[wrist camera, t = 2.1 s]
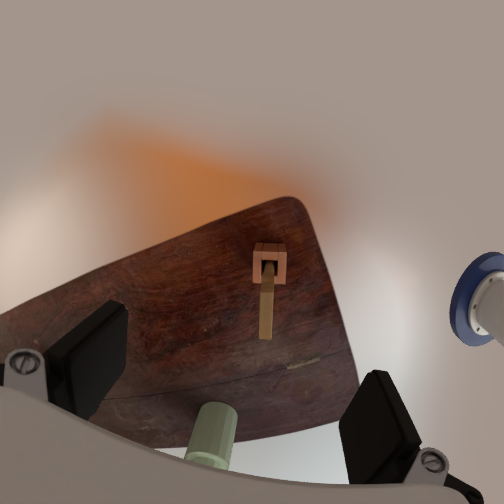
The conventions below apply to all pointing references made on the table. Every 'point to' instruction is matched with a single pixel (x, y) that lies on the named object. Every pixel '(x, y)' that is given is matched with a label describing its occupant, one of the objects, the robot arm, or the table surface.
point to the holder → (270, 253)
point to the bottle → (213, 436)
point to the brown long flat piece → (266, 301)
